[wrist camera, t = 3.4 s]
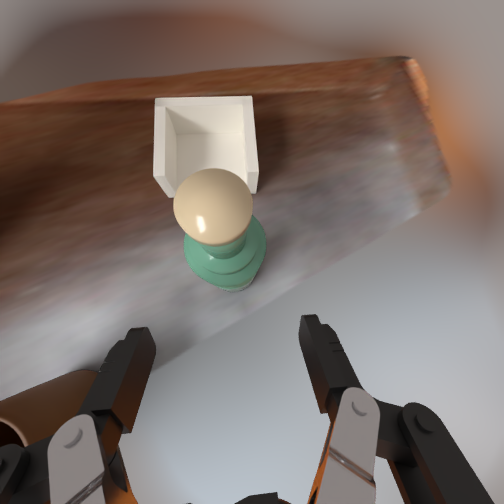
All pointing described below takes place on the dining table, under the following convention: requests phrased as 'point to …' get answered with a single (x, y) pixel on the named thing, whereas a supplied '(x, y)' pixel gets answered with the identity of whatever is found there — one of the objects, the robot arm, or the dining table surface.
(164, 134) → the holder
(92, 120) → the dining table surface
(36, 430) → the mug
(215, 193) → the green bottle
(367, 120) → the dining table surface
